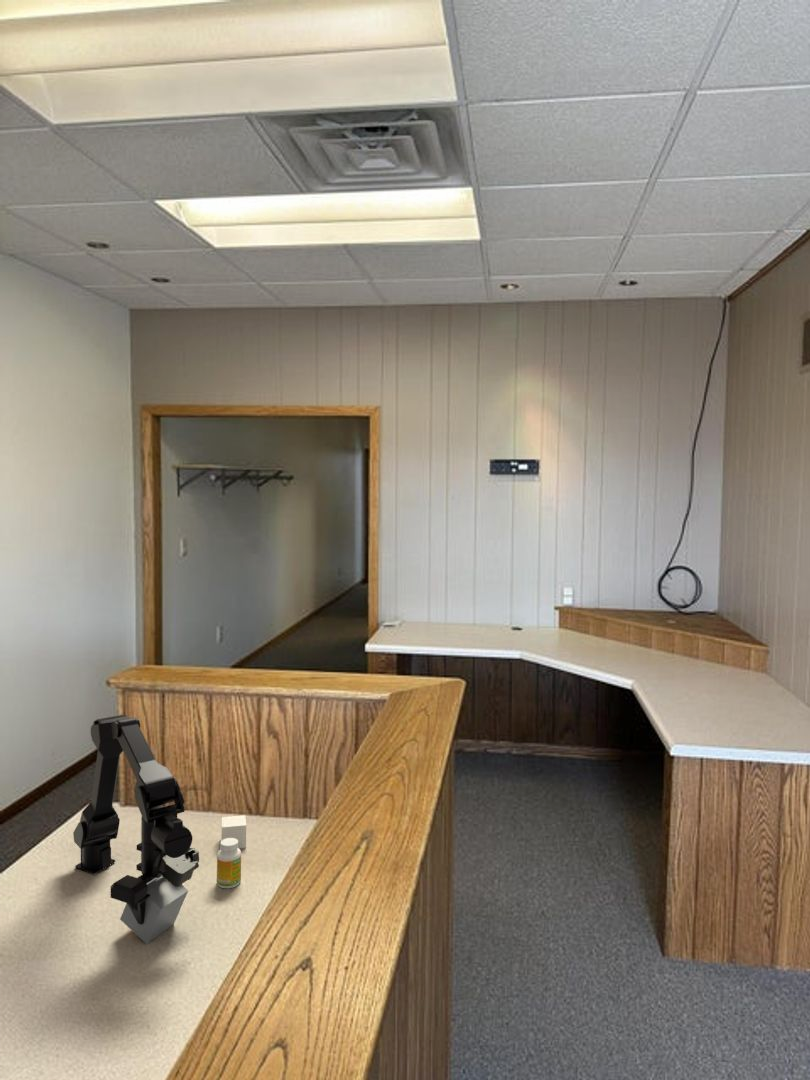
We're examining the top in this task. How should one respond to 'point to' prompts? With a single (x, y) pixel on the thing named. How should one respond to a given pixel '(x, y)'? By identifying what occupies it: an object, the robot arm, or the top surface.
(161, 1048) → the top surface
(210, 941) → the top surface
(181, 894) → the grey upright block
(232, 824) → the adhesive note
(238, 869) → the supplement bottle
